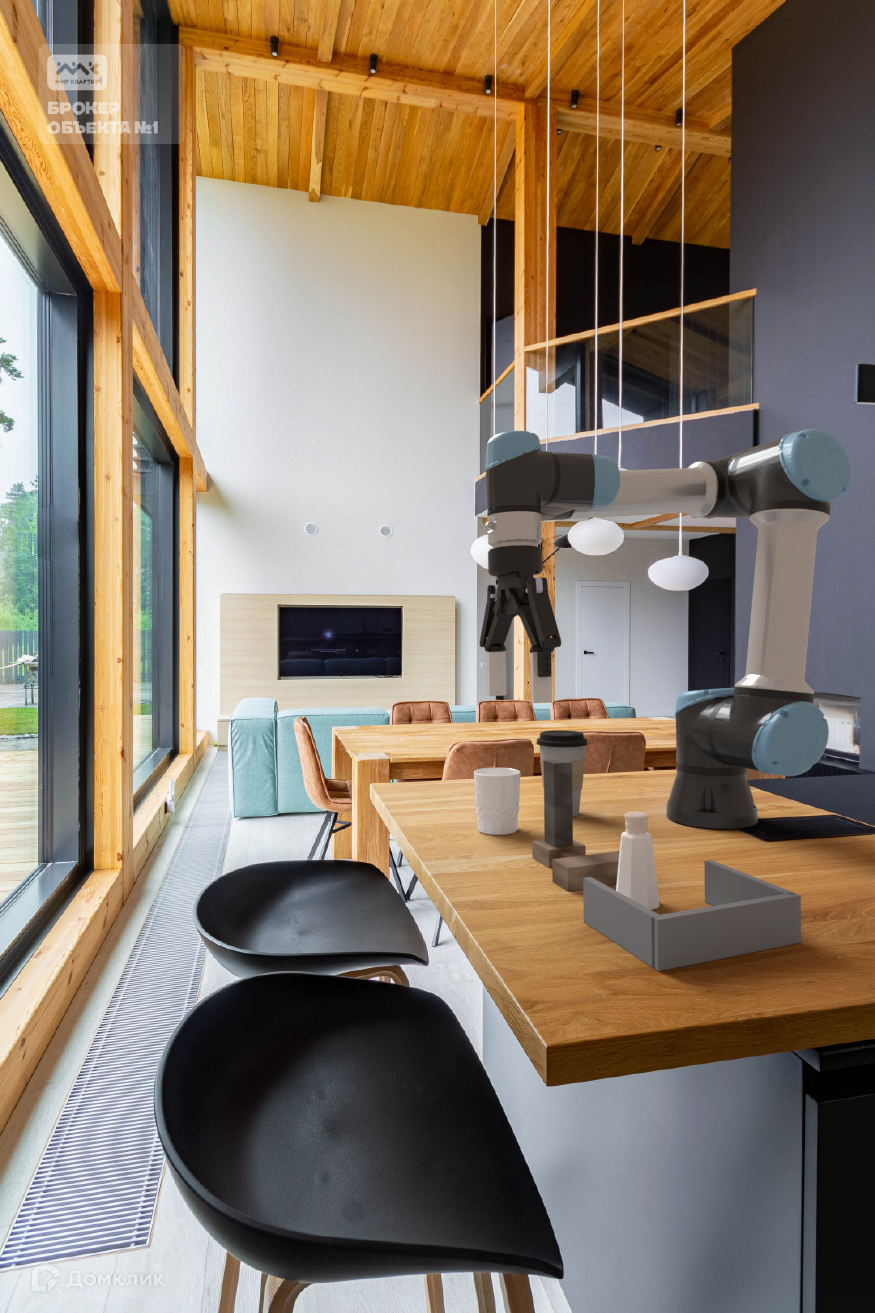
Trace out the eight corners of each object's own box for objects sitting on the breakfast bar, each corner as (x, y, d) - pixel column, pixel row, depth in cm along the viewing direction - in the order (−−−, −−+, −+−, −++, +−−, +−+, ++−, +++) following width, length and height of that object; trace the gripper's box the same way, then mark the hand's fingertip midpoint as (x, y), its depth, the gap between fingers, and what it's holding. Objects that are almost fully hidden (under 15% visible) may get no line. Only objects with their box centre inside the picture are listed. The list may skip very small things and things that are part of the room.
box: (711, 900, 89) (711, 859, 89) (800, 942, 76) (800, 895, 76) (583, 921, 83) (583, 878, 83) (658, 971, 70) (657, 920, 70)
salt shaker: (653, 915, 85) (652, 821, 84) (607, 906, 88) (607, 815, 87) (665, 900, 89) (664, 811, 89) (622, 893, 92) (621, 806, 92)
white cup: (471, 825, 127) (470, 768, 127) (516, 823, 128) (515, 767, 128) (477, 837, 119) (477, 776, 119) (525, 835, 120) (524, 775, 120)
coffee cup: (588, 820, 129) (587, 736, 129) (535, 818, 131) (534, 735, 131) (588, 808, 139) (587, 730, 138) (538, 807, 140) (537, 729, 140)
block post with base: (582, 851, 110) (581, 756, 110) (640, 880, 97) (639, 772, 97) (517, 860, 107) (516, 761, 106) (567, 891, 93) (566, 778, 93)
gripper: (456, 556, 112) (459, 694, 112) (533, 533, 89) (536, 707, 89) (500, 557, 114) (503, 692, 115) (586, 534, 91) (589, 703, 92)
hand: (518, 699), depth 102 cm, fingers open, 13 cm apart
